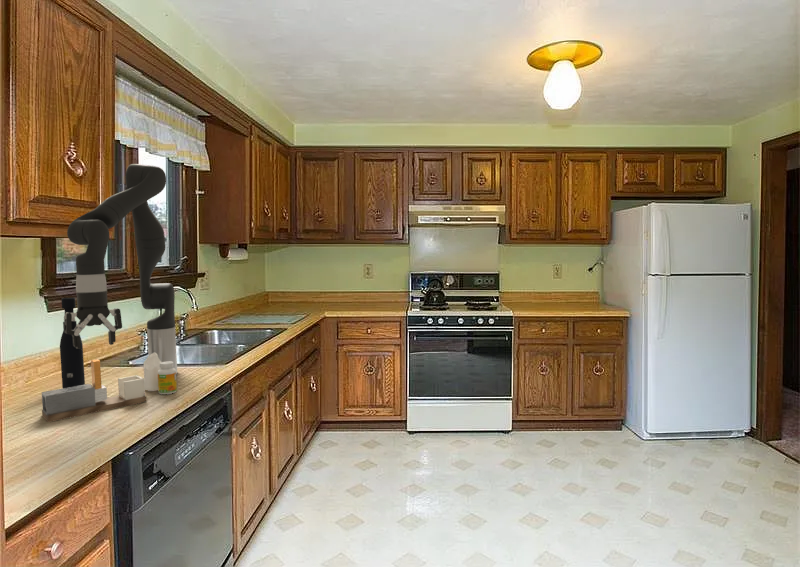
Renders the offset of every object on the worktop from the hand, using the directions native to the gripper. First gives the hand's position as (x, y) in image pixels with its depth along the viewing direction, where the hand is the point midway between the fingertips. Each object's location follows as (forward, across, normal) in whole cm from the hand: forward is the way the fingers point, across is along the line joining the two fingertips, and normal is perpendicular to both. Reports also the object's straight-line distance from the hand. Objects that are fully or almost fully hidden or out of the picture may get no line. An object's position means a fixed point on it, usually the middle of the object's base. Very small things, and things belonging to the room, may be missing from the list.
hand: (95, 346), depth 152 cm
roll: (+18, +19, +9) cm, 28 cm away
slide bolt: (+16, -5, 0) cm, 17 cm away
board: (+18, 0, 0) cm, 18 cm away
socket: (+17, +9, 0) cm, 19 cm away
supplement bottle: (+18, +20, +2) cm, 27 cm away
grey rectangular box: (+17, -7, 0) cm, 18 cm away
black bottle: (+18, +1, +31) cm, 36 cm away
